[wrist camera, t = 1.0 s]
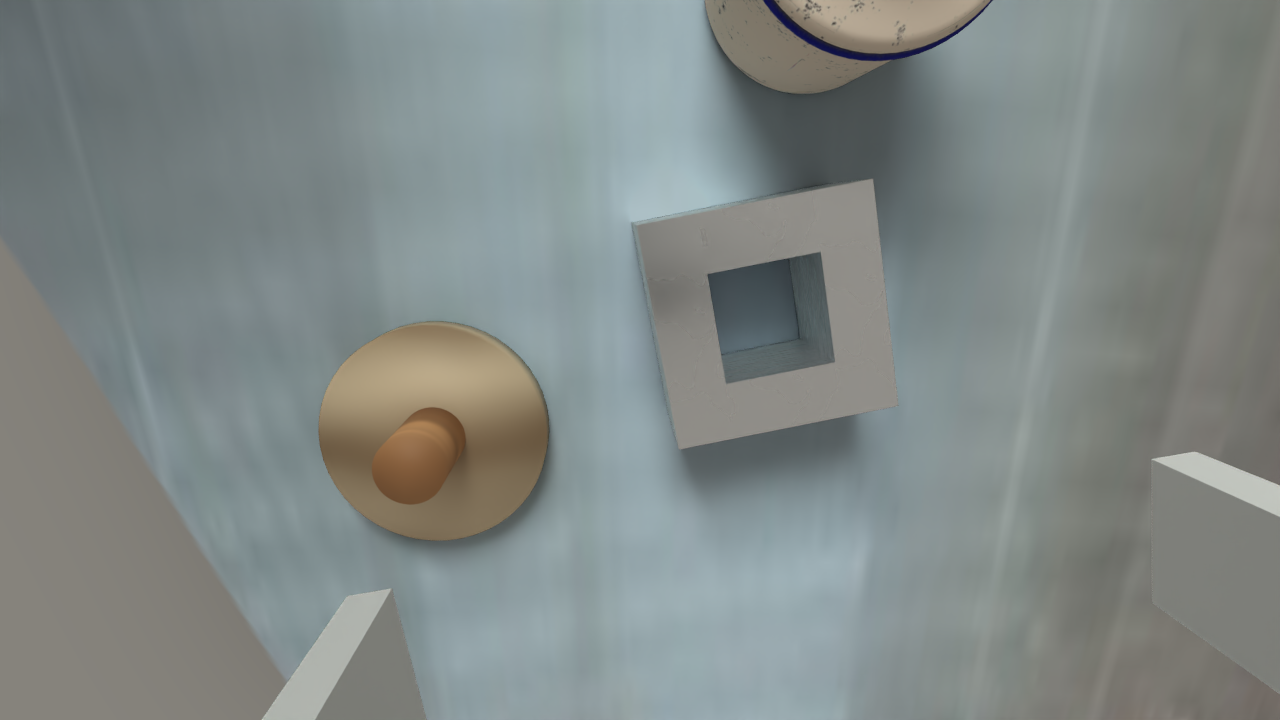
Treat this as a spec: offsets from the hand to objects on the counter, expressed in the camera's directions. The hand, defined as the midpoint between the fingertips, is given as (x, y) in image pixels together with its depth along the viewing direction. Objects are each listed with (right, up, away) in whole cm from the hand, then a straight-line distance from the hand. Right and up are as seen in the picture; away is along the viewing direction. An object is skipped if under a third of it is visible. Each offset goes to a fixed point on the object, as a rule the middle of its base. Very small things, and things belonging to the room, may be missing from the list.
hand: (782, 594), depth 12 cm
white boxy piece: (+2, +7, +20) cm, 21 cm away
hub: (-12, +1, +20) cm, 23 cm away
